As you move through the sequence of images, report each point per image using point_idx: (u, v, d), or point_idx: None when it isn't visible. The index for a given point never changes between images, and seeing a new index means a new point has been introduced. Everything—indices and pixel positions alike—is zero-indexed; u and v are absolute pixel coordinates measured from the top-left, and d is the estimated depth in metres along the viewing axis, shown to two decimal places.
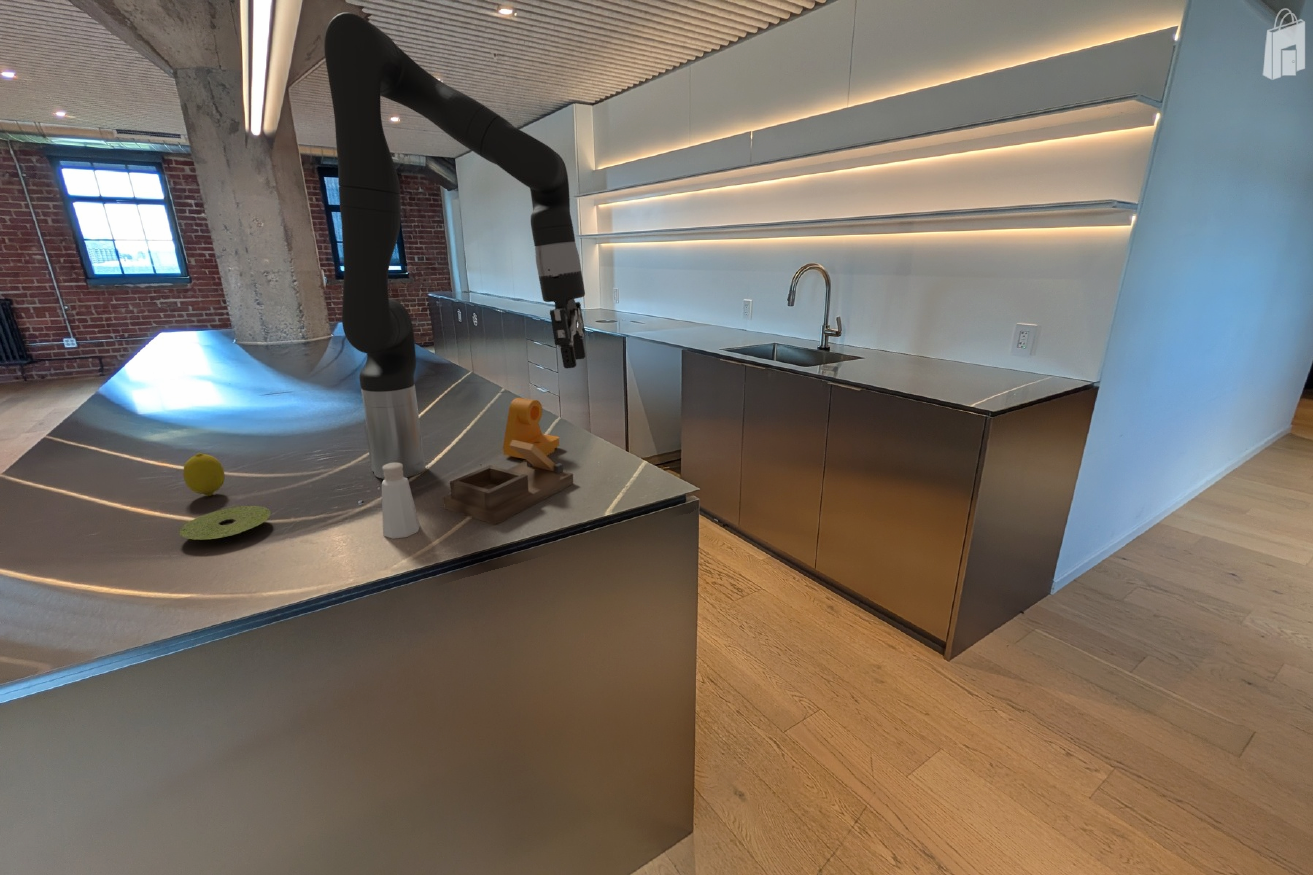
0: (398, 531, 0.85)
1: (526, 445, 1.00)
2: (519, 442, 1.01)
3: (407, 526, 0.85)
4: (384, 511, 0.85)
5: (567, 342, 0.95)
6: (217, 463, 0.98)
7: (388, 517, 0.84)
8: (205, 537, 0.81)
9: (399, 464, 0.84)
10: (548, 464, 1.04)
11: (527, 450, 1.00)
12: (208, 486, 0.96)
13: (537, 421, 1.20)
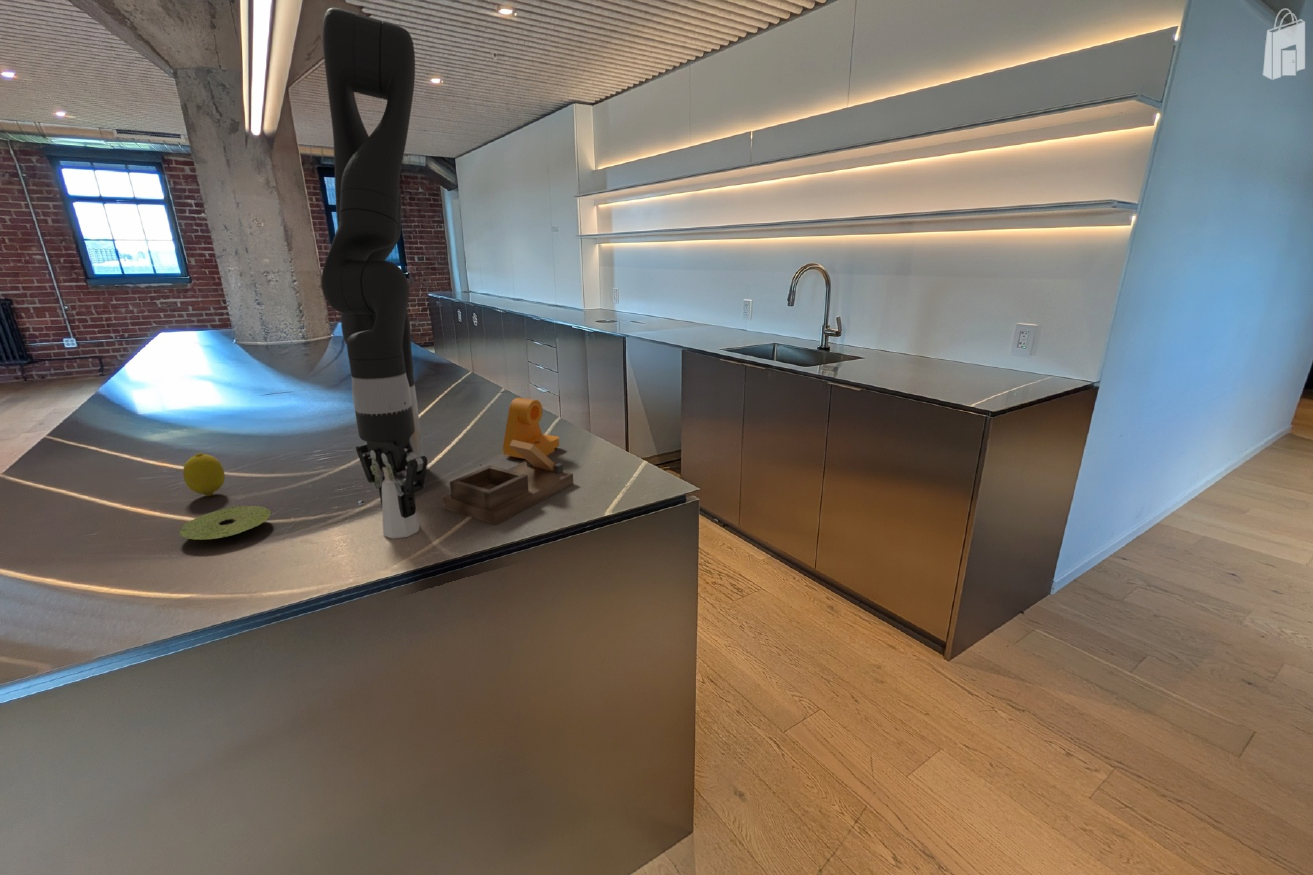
0: (398, 531, 0.85)
1: (526, 445, 1.00)
2: (519, 442, 1.01)
3: (407, 526, 0.85)
4: (384, 511, 0.85)
5: None
6: (217, 463, 0.98)
7: (388, 517, 0.84)
8: (205, 537, 0.81)
9: None
10: (548, 464, 1.04)
11: (527, 450, 1.00)
12: (208, 486, 0.96)
13: (537, 421, 1.20)
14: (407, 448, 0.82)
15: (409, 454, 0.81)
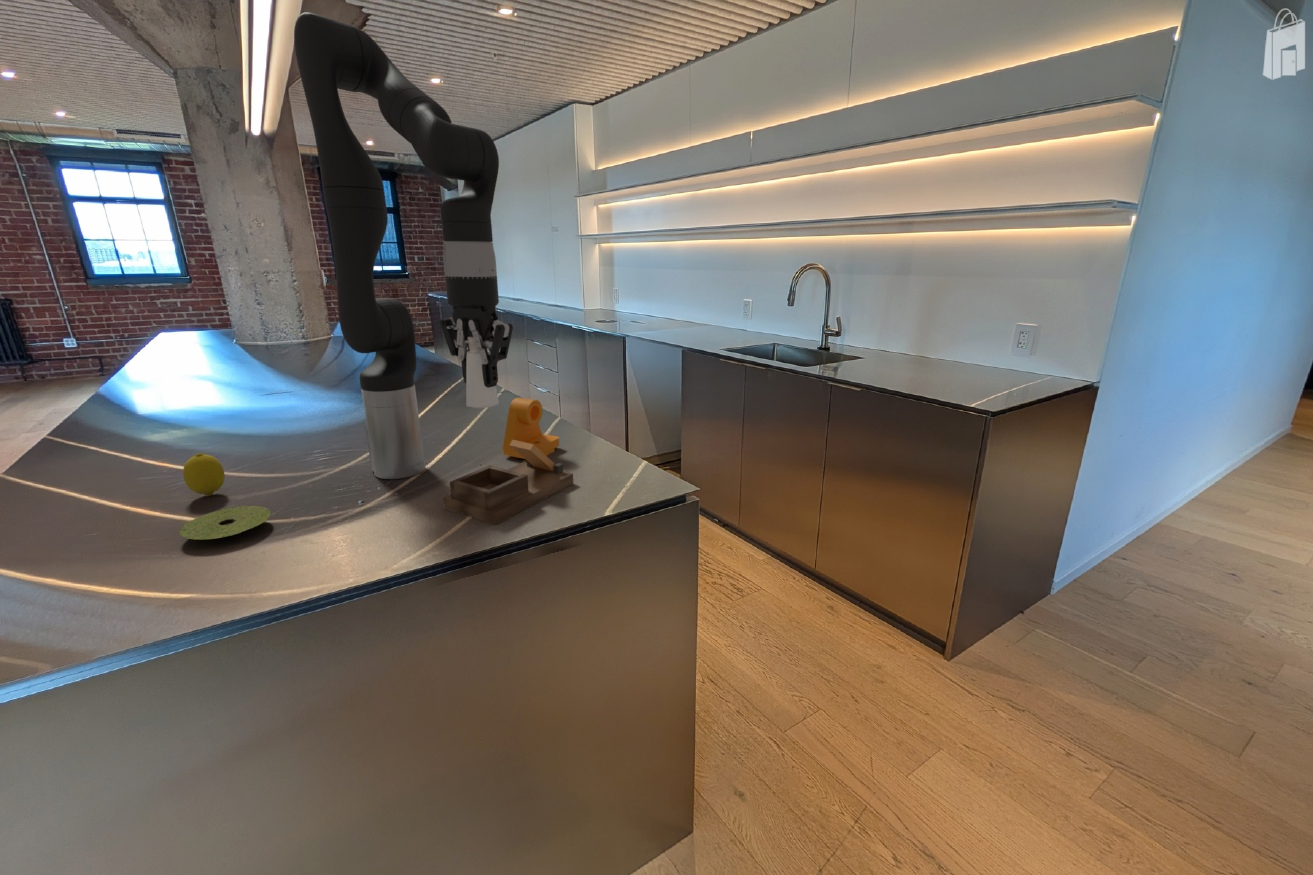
0: (481, 400, 0.89)
1: (526, 445, 1.00)
2: (519, 442, 1.01)
3: (489, 396, 0.89)
4: (468, 381, 0.88)
5: None
6: (217, 463, 0.98)
7: (472, 386, 0.88)
8: (205, 537, 0.81)
9: None
10: (548, 464, 1.04)
11: (527, 450, 1.00)
12: (208, 486, 0.96)
13: (537, 421, 1.20)
14: (493, 316, 0.85)
15: (496, 320, 0.84)
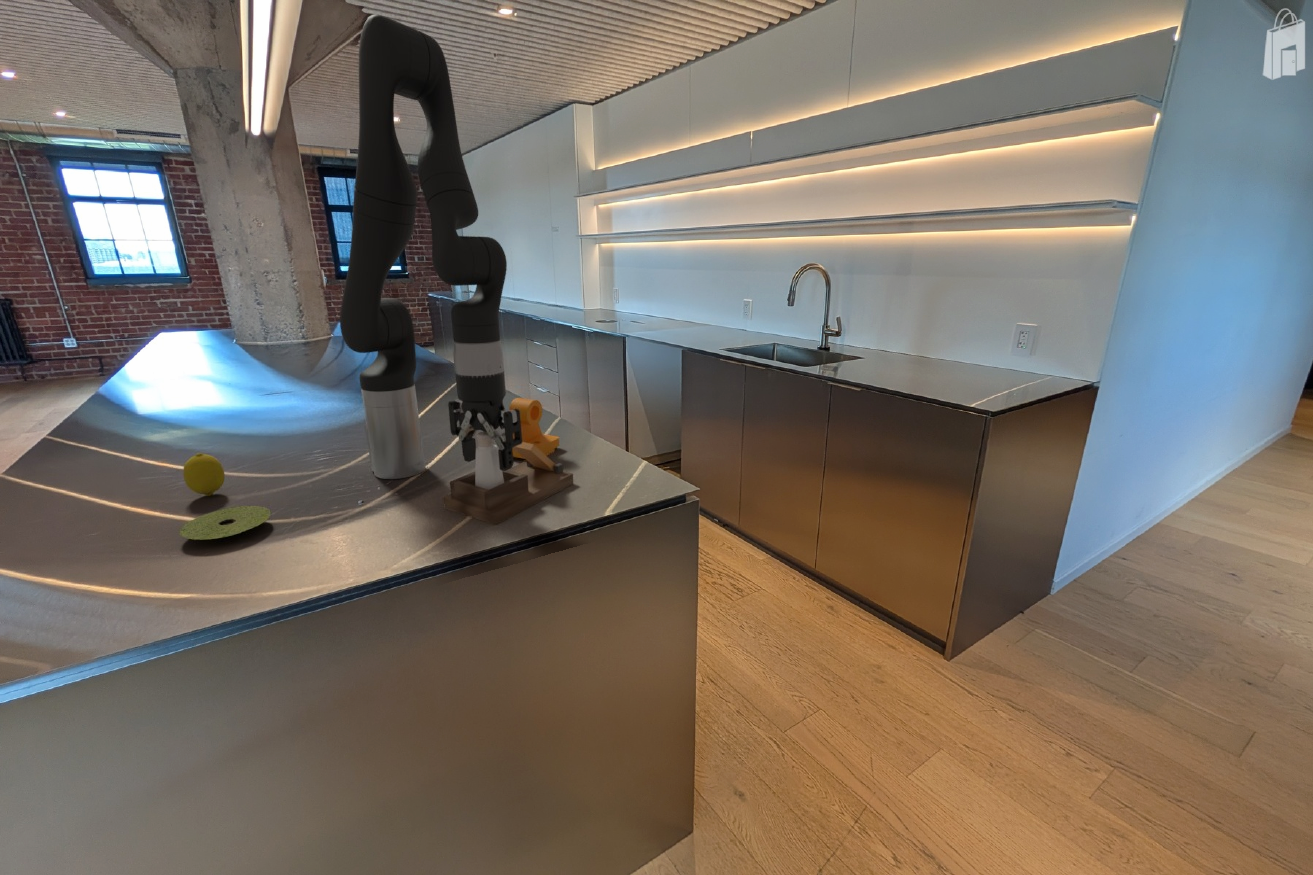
0: None
1: (526, 445, 1.00)
2: None
3: None
4: (477, 475, 0.93)
5: None
6: (217, 463, 0.98)
7: (481, 480, 0.93)
8: (205, 537, 0.81)
9: None
10: (548, 464, 1.04)
11: (527, 450, 1.00)
12: (208, 486, 0.96)
13: (537, 421, 1.20)
14: (499, 407, 0.90)
15: (502, 410, 0.89)
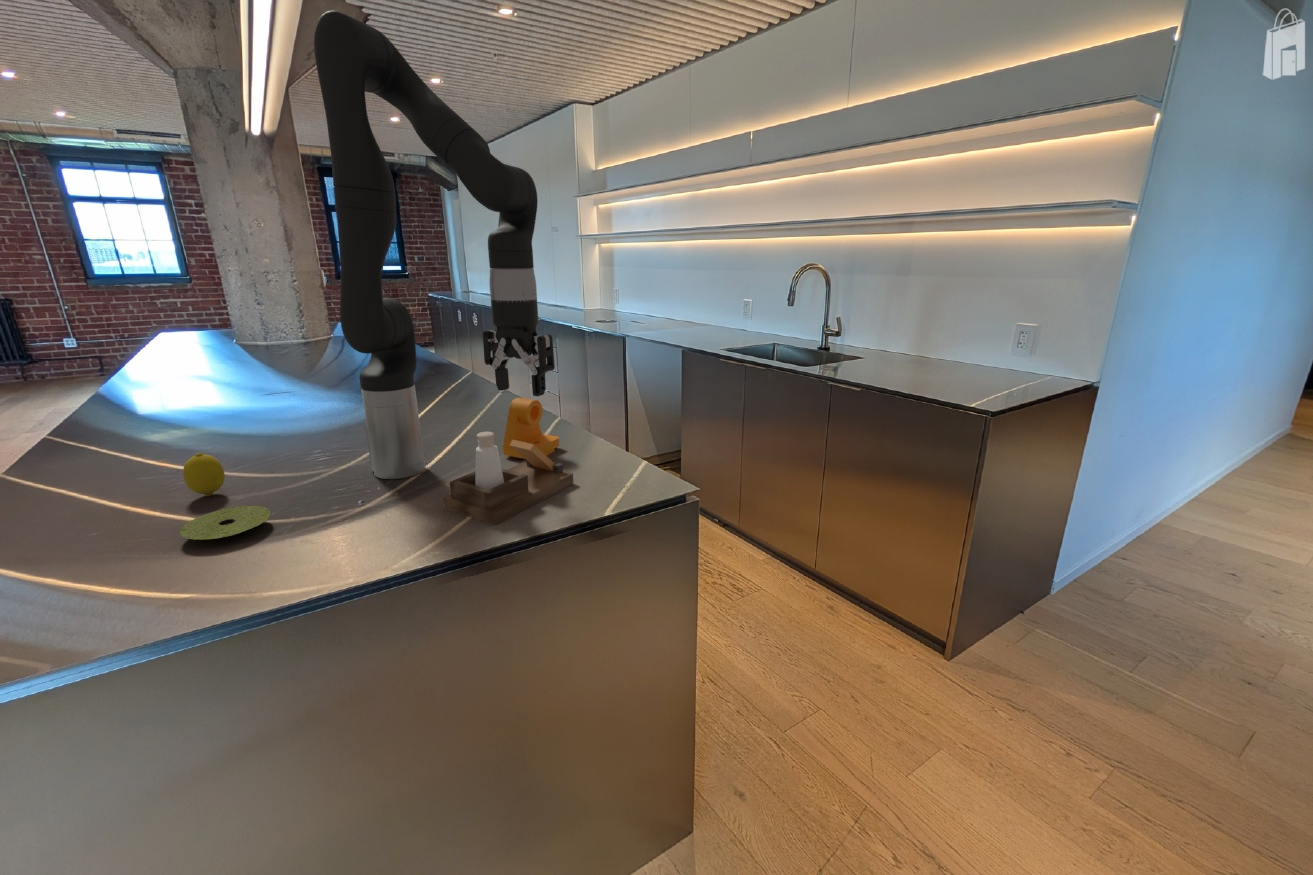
0: None
1: (526, 445, 1.00)
2: (519, 442, 1.01)
3: None
4: (477, 475, 0.93)
5: None
6: (217, 463, 0.98)
7: (481, 481, 0.93)
8: (205, 537, 0.81)
9: (491, 433, 0.93)
10: (548, 464, 1.04)
11: (527, 450, 1.00)
12: (208, 486, 0.96)
13: (537, 421, 1.20)
14: (533, 334, 0.94)
15: (536, 336, 0.93)
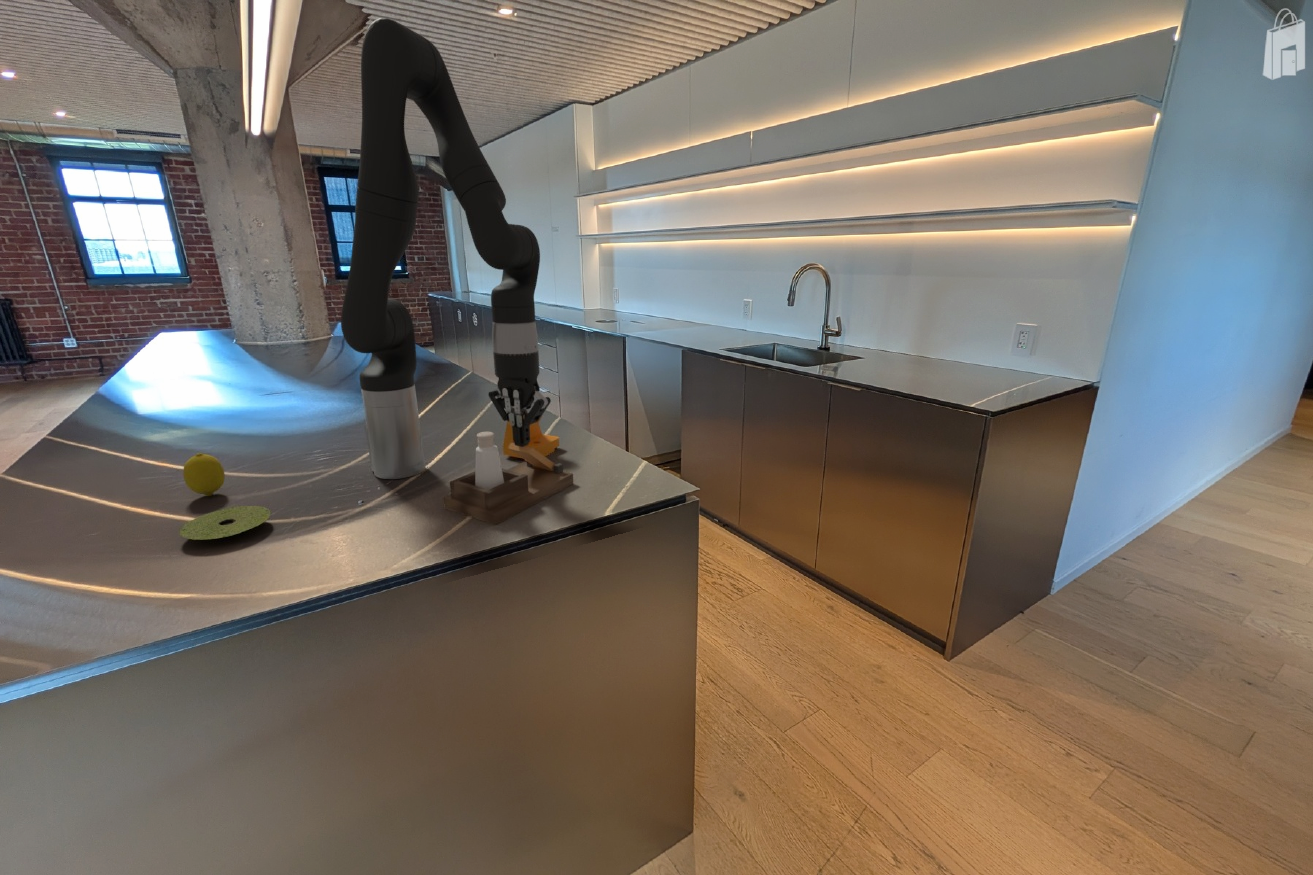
0: None
1: (525, 448, 1.00)
2: None
3: None
4: (477, 475, 0.93)
5: None
6: (217, 463, 0.98)
7: (481, 481, 0.93)
8: (205, 537, 0.81)
9: (491, 433, 0.93)
10: (548, 465, 1.04)
11: (526, 453, 1.00)
12: (208, 486, 0.96)
13: None
14: (536, 387, 0.96)
15: (537, 393, 0.95)
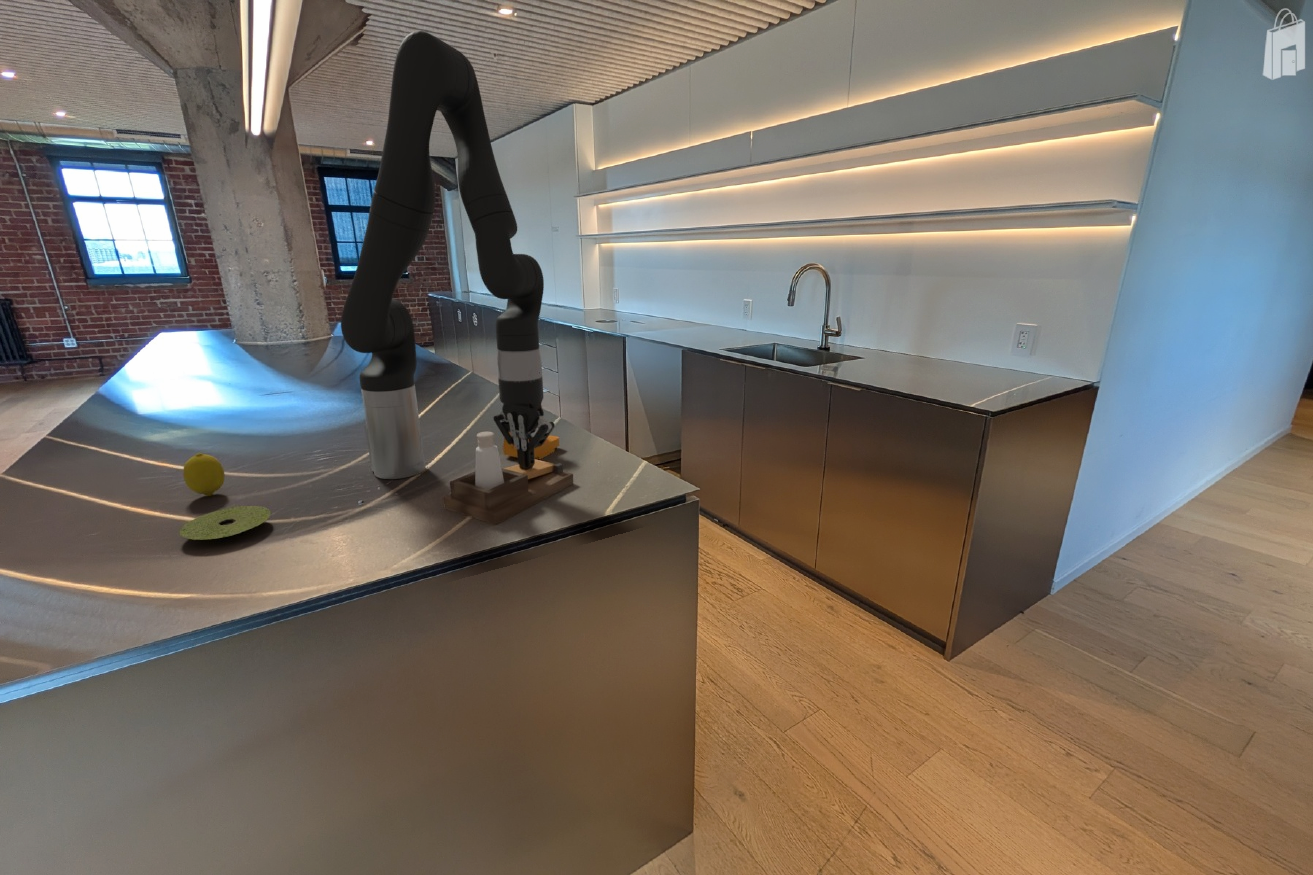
0: None
1: None
2: None
3: None
4: (477, 475, 0.93)
5: None
6: (217, 463, 0.98)
7: (481, 481, 0.93)
8: (205, 537, 0.81)
9: (491, 433, 0.93)
10: (547, 471, 1.05)
11: None
12: (208, 486, 0.96)
13: None
14: (540, 412, 0.98)
15: (541, 418, 0.97)
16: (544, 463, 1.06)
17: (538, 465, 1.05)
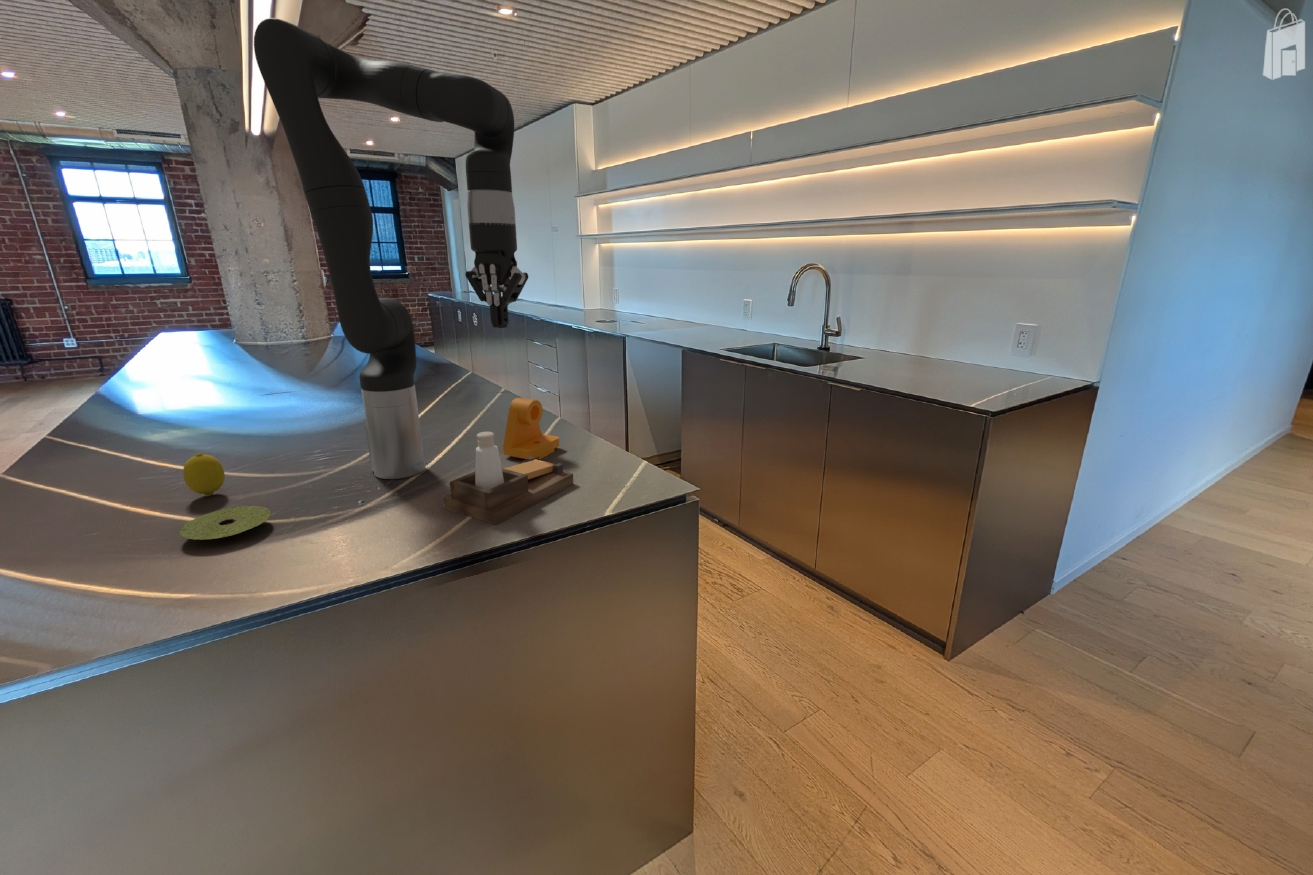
0: None
1: None
2: None
3: None
4: (477, 475, 0.93)
5: None
6: (217, 463, 0.98)
7: (481, 481, 0.93)
8: (205, 537, 0.81)
9: (491, 433, 0.93)
10: (547, 471, 1.05)
11: None
12: (208, 486, 0.96)
13: (537, 421, 1.20)
14: (513, 262, 0.93)
15: (514, 267, 0.93)
16: (544, 463, 1.06)
17: (538, 465, 1.05)
